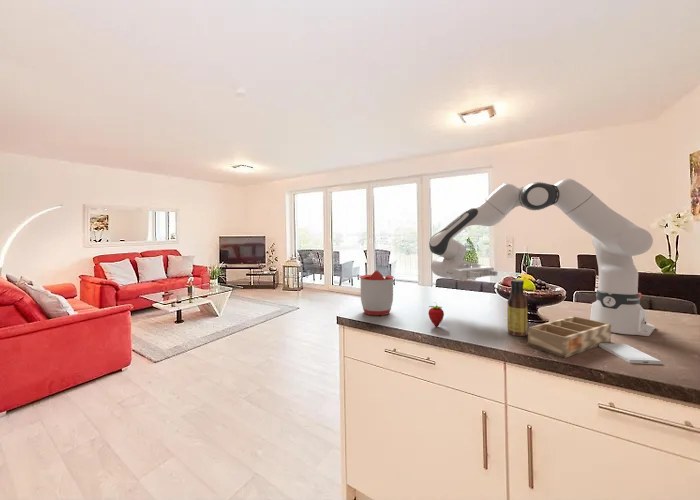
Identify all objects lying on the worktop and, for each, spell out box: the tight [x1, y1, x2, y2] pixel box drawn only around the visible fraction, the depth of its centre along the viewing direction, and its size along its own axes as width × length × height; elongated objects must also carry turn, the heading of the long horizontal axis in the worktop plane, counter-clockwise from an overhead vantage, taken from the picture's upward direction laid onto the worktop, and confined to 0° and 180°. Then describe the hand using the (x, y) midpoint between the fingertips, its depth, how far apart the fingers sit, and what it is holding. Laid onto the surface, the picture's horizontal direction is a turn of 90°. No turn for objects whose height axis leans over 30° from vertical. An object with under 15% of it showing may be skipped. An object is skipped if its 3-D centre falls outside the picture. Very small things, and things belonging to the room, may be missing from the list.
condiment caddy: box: [527, 315, 612, 359], centre depth 97 cm, size 27×12×6 cm, turn 117°
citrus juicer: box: [359, 270, 394, 316], centre depth 138 cm, size 16×17×20 cm
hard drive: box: [598, 342, 663, 365], centre depth 89 cm, size 2×8×12 cm
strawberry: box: [428, 303, 445, 328], centre depth 116 cm, size 6×8×10 cm
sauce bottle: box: [507, 279, 528, 337], centre depth 107 cm, size 7×6×20 cm
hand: (488, 274), depth 117 cm, fingers open, 8 cm apart
